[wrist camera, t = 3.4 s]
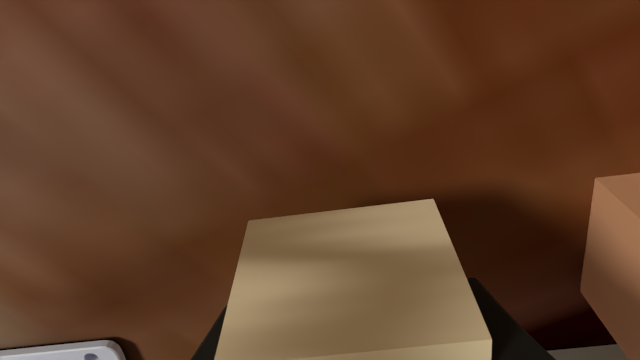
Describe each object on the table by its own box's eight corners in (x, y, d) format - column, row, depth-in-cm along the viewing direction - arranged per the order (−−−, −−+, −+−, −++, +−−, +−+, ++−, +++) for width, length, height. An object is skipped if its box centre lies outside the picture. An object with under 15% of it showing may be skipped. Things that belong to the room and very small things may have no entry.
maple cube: (280, 352, 14) (264, 522, 10) (248, 220, 12) (212, 367, 8) (438, 337, 14) (487, 505, 10) (433, 198, 12) (491, 339, 8)
